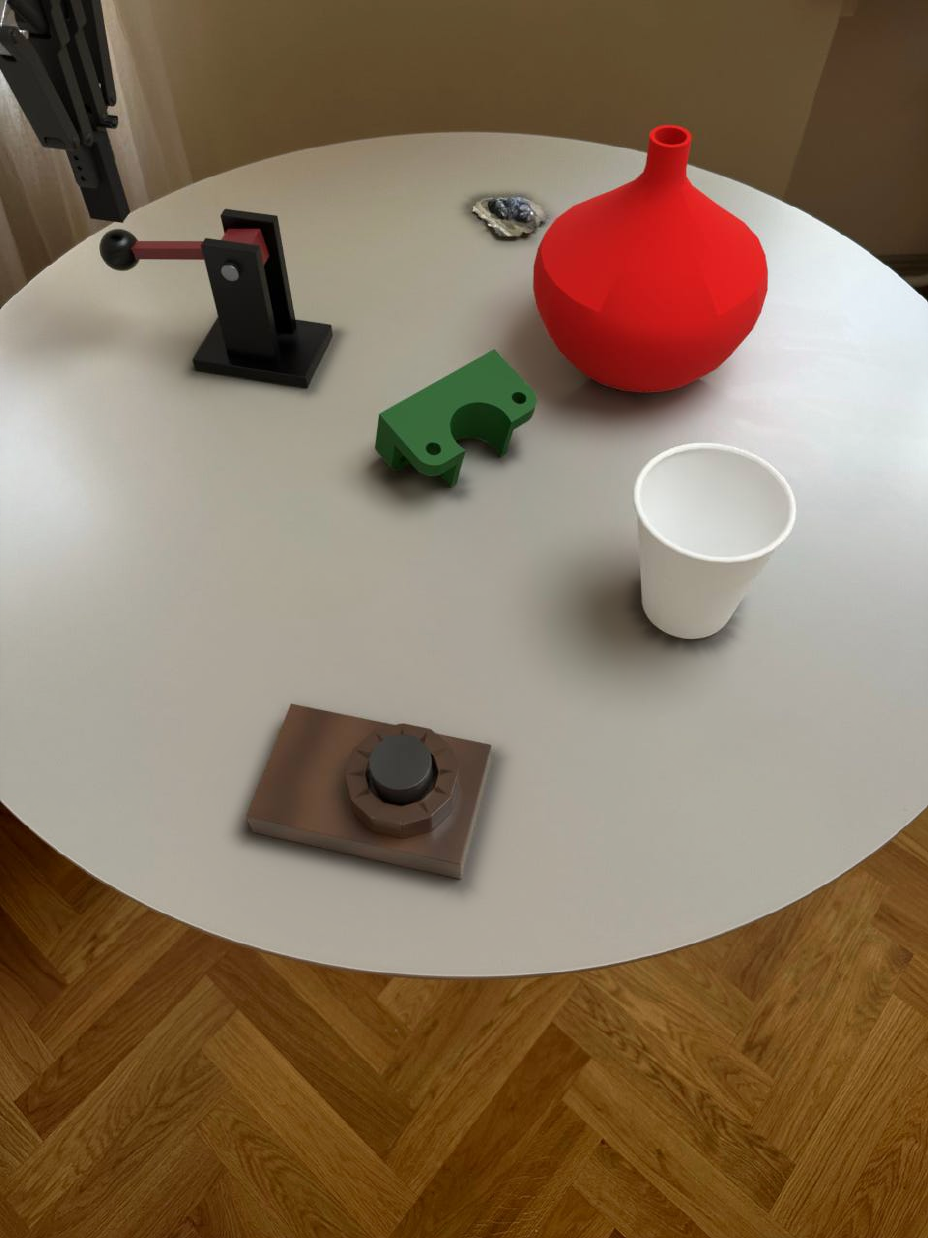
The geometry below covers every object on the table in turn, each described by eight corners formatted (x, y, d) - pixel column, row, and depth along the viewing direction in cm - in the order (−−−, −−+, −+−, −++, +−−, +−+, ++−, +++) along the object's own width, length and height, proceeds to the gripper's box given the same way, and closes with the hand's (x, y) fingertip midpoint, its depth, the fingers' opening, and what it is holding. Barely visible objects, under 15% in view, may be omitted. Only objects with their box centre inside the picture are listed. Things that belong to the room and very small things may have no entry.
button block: (252, 832, 63) (240, 802, 59) (295, 720, 67) (286, 687, 64) (461, 879, 61) (460, 852, 58) (491, 761, 65) (492, 729, 62)
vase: (758, 431, 82) (822, 213, 67) (527, 425, 83) (538, 208, 68) (735, 288, 93) (785, 72, 78) (531, 284, 94) (541, 69, 79)
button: (363, 796, 60) (361, 782, 59) (381, 743, 62) (379, 728, 61) (423, 809, 60) (422, 795, 58) (439, 755, 62) (438, 740, 60)
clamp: (435, 522, 83) (410, 487, 74) (390, 469, 84) (360, 429, 76) (550, 424, 83) (538, 378, 74) (502, 373, 84) (486, 322, 75)
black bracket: (194, 370, 88) (160, 247, 78) (225, 319, 92) (195, 196, 82) (307, 388, 86) (286, 265, 77) (333, 335, 90) (316, 212, 81)
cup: (785, 603, 72) (828, 495, 64) (701, 691, 68) (735, 589, 59) (671, 530, 76) (696, 419, 68) (585, 608, 72) (600, 501, 63)
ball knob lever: (102, 278, 84) (85, 243, 82) (119, 255, 86) (103, 220, 84) (259, 280, 81) (246, 243, 78) (273, 256, 83) (261, 220, 80)
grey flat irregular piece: (518, 249, 97) (519, 231, 96) (452, 219, 100) (452, 201, 99) (561, 216, 100) (562, 198, 99) (495, 188, 103) (495, 170, 102)
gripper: (0, -93, 58) (119, 271, 77) (101, -175, 65) (187, 175, 84) (-120, -103, 59) (27, 258, 78) (-7, -183, 66) (102, 164, 85)
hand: (110, 214), depth 81 cm, fingers closed
